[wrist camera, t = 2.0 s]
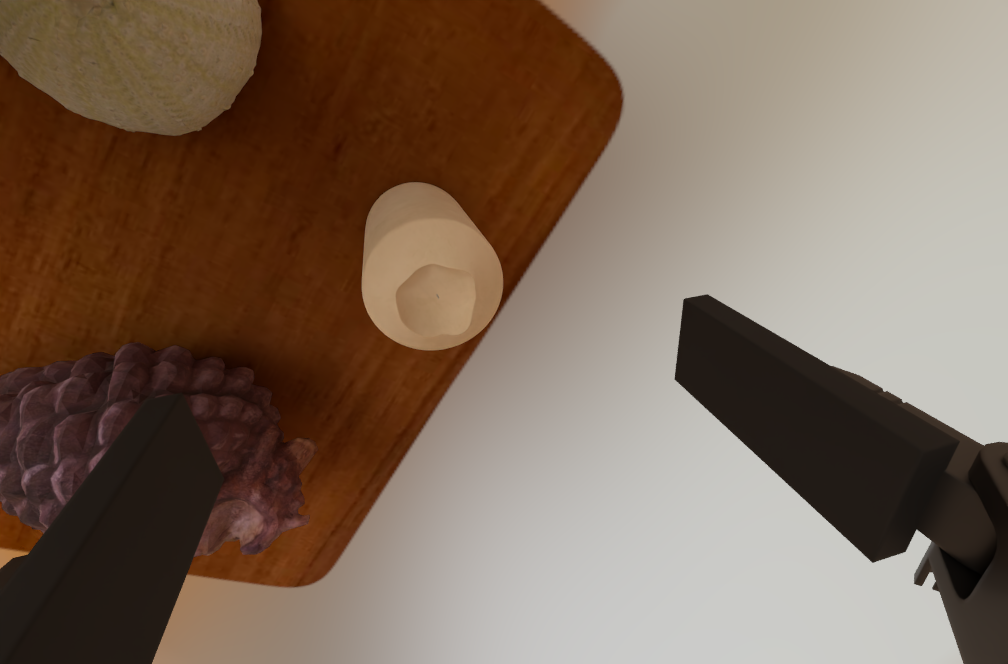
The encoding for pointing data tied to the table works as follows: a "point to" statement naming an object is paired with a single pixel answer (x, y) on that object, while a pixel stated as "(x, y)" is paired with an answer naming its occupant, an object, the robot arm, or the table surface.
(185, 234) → the table surface
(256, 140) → the table surface
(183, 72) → the sea urchin shell
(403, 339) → the candle
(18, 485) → the pine cone
